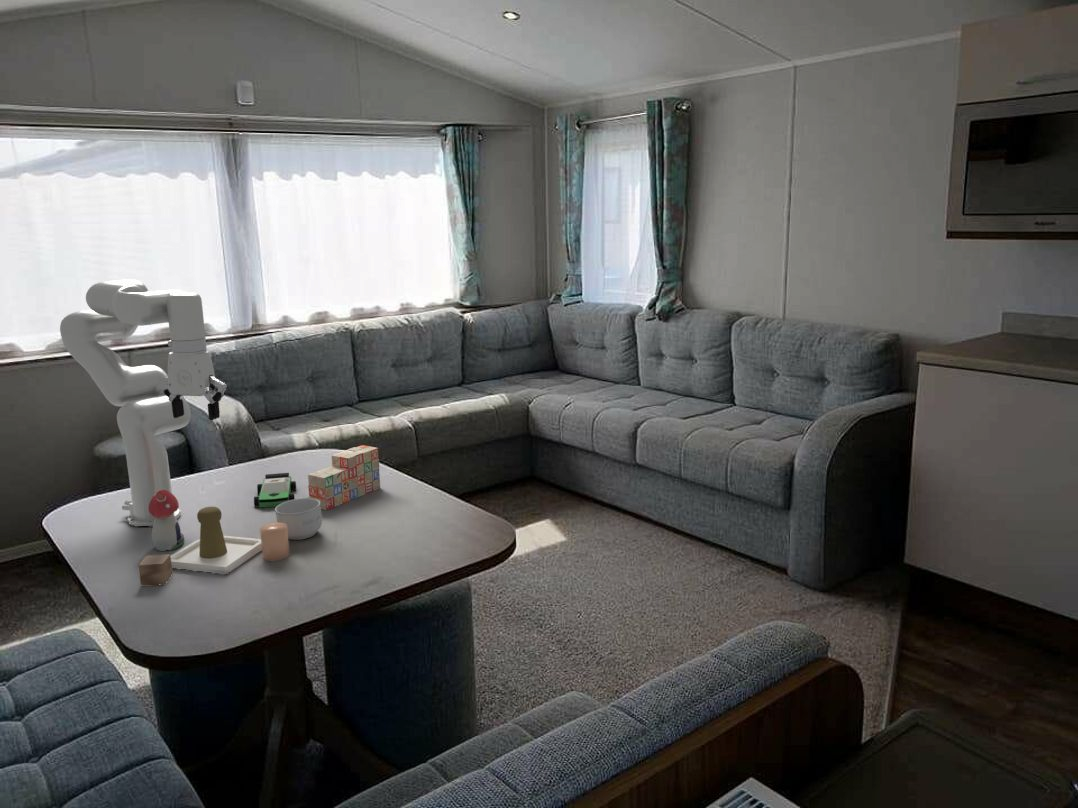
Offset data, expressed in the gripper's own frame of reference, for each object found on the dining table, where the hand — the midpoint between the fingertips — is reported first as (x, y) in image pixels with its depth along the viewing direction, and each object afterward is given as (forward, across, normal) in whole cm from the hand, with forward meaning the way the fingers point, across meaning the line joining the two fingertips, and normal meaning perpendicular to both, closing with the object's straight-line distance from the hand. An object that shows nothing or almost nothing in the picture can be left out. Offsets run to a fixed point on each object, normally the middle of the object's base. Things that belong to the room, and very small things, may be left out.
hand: (196, 417), depth 199 cm
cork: (+30, +8, -10) cm, 32 cm away
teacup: (+31, +21, +8) cm, 38 cm away
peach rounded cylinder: (+30, +22, -6) cm, 38 cm away
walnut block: (+30, +4, -24) cm, 39 cm away
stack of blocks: (+31, +19, +35) cm, 50 cm away
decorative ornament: (+31, -6, -7) cm, 32 cm away
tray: (+30, +9, -10) cm, 33 cm away
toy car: (+31, 0, +30) cm, 43 cm away
